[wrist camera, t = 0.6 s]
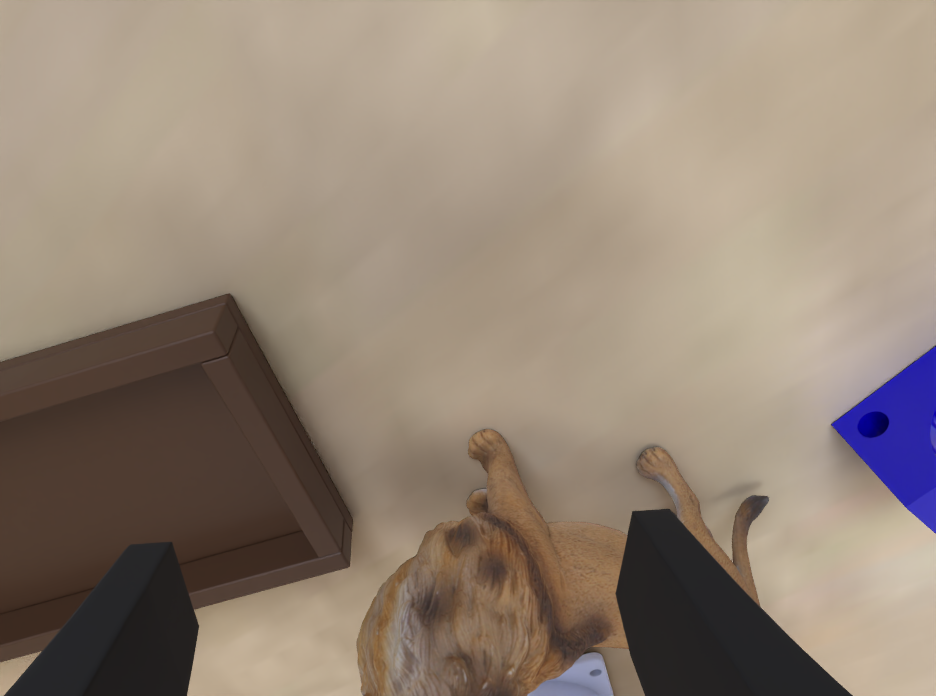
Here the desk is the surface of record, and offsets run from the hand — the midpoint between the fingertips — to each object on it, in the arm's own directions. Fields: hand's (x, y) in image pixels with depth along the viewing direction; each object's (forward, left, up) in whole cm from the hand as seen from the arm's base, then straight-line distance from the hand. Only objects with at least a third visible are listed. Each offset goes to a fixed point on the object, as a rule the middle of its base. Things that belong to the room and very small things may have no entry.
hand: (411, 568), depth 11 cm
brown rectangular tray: (-3, +13, -10) cm, 17 cm away
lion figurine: (-9, -3, -10) cm, 14 cm away
